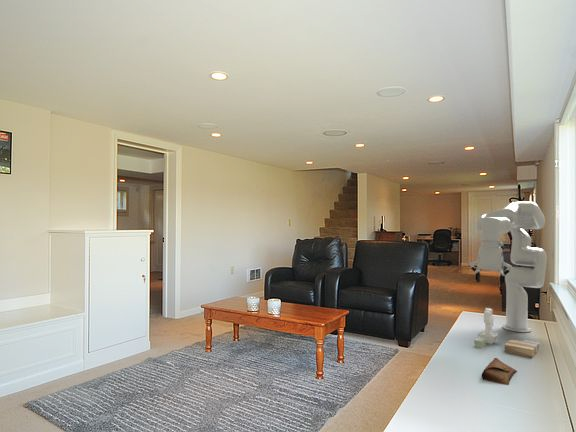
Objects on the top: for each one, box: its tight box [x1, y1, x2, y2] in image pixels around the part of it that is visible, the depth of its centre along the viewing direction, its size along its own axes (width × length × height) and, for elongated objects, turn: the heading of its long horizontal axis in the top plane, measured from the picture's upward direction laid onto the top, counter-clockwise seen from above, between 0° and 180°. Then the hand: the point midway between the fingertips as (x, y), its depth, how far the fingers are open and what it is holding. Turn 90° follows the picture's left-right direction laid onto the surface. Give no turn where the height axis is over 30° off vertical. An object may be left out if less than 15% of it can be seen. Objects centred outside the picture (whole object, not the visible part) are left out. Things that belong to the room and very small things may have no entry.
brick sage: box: [473, 336, 487, 349], centre depth 174 cm, size 6×3×3 cm, turn 140°
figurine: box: [477, 307, 500, 345], centre depth 180 cm, size 7×9×15 cm
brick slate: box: [522, 339, 541, 351], centre depth 172 cm, size 6×3×3 cm, turn 48°
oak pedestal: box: [504, 339, 538, 359], centre depth 167 cm, size 11×10×3 cm
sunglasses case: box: [481, 357, 517, 386], centre depth 140 cm, size 18×7×7 cm, turn 143°
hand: (489, 283), depth 179 cm, fingers open, 9 cm apart
